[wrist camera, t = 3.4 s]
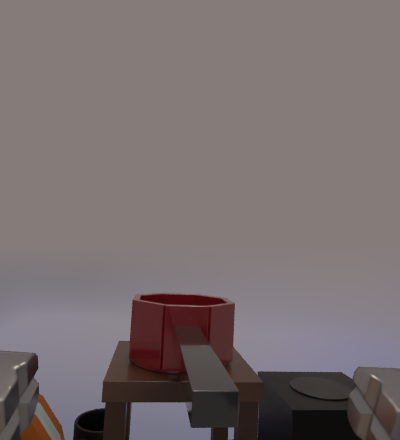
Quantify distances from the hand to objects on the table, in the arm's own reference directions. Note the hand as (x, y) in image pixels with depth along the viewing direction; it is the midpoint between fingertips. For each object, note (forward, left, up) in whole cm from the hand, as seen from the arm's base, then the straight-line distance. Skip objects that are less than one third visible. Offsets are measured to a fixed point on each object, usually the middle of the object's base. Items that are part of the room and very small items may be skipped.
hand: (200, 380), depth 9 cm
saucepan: (-2, -17, -6) cm, 18 cm away
